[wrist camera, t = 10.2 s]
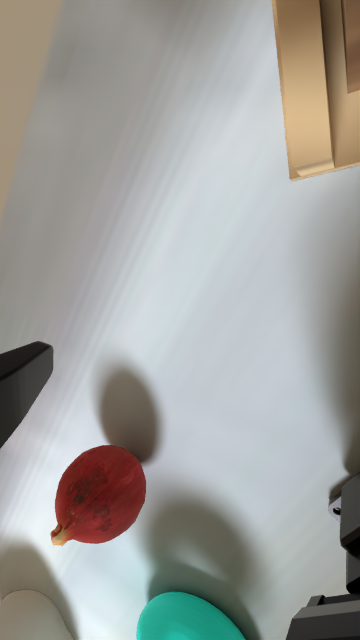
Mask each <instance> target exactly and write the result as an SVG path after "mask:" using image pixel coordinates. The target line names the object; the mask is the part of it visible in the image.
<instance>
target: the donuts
mask: <svg viewBox="0 0 360 640" xmlns="http://www.w3.org/2000/svg"><path fill="white" fill-rule="evenodd" d="M137 640H246V639H245V638H244V636H243V635H242V633H241V632H240V631H239V629H238V628H237V627H236V626H235V624H234V623H233V622H232V621H231V620H230V619H229V618H228V617H227V616H226V615H225V614H224V613H222V612H221V611H220V610H219V609H217V608H216V607H215V606H213V605H212V604H210V603H209V602H207V601H205V600H203V599H201V598H199V597H197V596H194V595H191V594H188V593H183V592H167V593H162V594H160V595H158V596H156V597H154V598H153V599H152V600H151V601H150V602H149V603H148V604H147V605H146V606H145V608H144V609H143V611H142V613H141V615H140V618H139V621H138V626H137Z"/></svg>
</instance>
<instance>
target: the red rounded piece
mask: <svg viewBox="0 0 360 640" xmlns="http://www.w3.org/2000/svg"><path fill="white" fill-rule="evenodd" d="M145 494H146V479H145V475H144V472H143V469H142V466H141V464H140V463H139V461H138V460H137V458H136V457H135V456H134V455H133V454H131V453H130V452H129V451H127V450H126V449H123V448H121V447H116V446H112V445H102V446H99V447H96V448H92V449H90V450H88V451H85V452H83V453H82V454H81V455H80V456H78V457H77V458H76V459H75V460H74V461H73V462H72V463H71V464H70V465H69V467H68V468H67V469H66V471H65V472H64V473H63V475H62V477H61V479H60V482H59V485H58V489H57V494H56V499H55V512H56V518H57V522H58V525H57V527H56V529H54V530H53V531H52V532H51V540H52V543H53V545H61V546H63V545H64V544H65V543H66V542H67V541H69V540H72V539H74V540H77V541H79V542H83V543H94V544H98V543H104V542H107V541H110V540H112V539H114V538H115V537H117V536H119V535H120V534H122V533H123V532H125V531H126V530H127V529H128V528H129V527H130V526H131V525H132V524H133V523H134V522H135V521H136V518H137V516H138V514H139V512H140V510H141V508H142V506H143V504H144V502H145Z"/></svg>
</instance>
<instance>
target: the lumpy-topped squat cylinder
mask: <svg viewBox="0 0 360 640" xmlns="http://www.w3.org/2000/svg"><path fill="white" fill-rule="evenodd" d="M0 640H74V638H73V637H72V635H71V634H70V632H69V631H68V629H67V627H66V625H65V623H64V621H63V618H62V616H61V614H60V612H59V611H58V609H57V607H56V606H55V604H54V603H53V602H52V601H51V600H50V599H49V598H48V597H46V596H45V595H44V594H42V593H40V592H38V591H35V590H19V591H14V592H11V593H9V594H8V595H7V596H6V597H5V598H4V599H3V600H2V601H1V602H0Z"/></svg>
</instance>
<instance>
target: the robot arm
mask: <svg viewBox="0 0 360 640" xmlns="http://www.w3.org/2000/svg"><path fill="white" fill-rule="evenodd" d="M52 371H53V347H52V346H51V345H49V344H47V343H44V342H40V341H37V342H33V343H31V344H28V345H25V346H22V347H19V348H16V349H13V350H11V351H8V352H5V353H2V354H0V448H1V447H2V446H3V445H4V443H5V442H6V441H7V440H8V438H9V437H10V436H11V435H12V433H13V432H14V431H15V430H16V428H17V427H18V426H19V424H20V423H21V422H22V420H23V419H24V417H25V416H26V414H27V413H28V411H29V409H30V408H31V406H32V405H33V403H34V401H35V400H36V398H37V397H38V395H39V393H40V392H41V390H42V389H43V387H44V386H45V384H46V382H47V381H48V379H49V378H50V376H51V374H52ZM335 507H338V508H340V509H341V510H336V509H335ZM328 511H329V513H330V514H331V515H332V516H333V517H334V518H335V519H336V520H337V521H338V522H340V543H341V546H342V547H343V548H344V549H345V550H346V551H347V554H346V589H347V590H348V592H349V593H350V594H346V595H339V596H332V597H325V596H324V595H319V596H312V597H311V599H310V601H309V602H308V604H307V606H306V607H304V608H301V610H300V611H299V612H298V613H297V614H296V615H295V616H294V617H293V618H292V621H291V624H290V627H289V631H288V634H287V637H286V640H360V472H359V473H358V474H357V475H356V476H354V477H353V478H352V479H351V480H349V481H348V482H347V483H345V484H344V485H343V486H342V491H341V492H340V493H339V494H338V495H336V496H335V497H334V498H333V499H331V500H330V501H329V506H328Z"/></svg>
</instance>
